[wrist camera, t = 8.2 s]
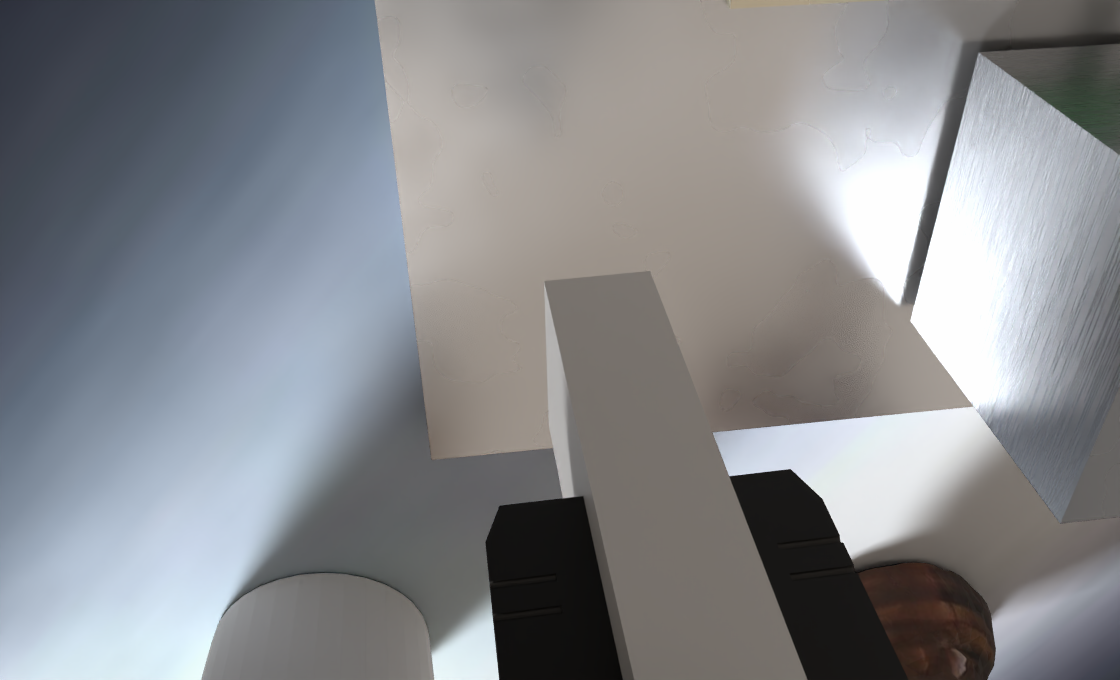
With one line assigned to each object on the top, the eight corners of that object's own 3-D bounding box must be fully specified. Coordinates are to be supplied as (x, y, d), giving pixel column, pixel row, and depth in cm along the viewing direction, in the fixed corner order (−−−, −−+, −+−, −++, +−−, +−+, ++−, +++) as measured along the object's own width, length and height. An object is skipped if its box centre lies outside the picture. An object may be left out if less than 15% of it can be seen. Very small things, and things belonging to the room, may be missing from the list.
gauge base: (364, -122, 16) (346, -9, 11) (1642, -171, 18) (2103, -97, 13) (430, 425, 23) (438, 643, 18) (1343, 338, 25) (1571, 509, 20)
